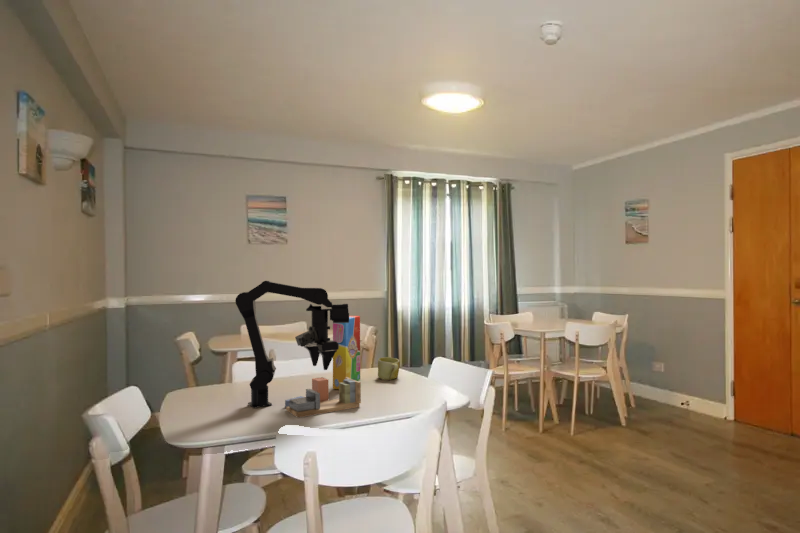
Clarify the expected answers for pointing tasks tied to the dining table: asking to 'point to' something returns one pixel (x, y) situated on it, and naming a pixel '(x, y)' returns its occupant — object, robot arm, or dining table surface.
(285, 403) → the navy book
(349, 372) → the game box
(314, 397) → the bookend
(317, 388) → the salmon orange block
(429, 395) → the dining table surface
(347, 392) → the wooden toy block set
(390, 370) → the mug
